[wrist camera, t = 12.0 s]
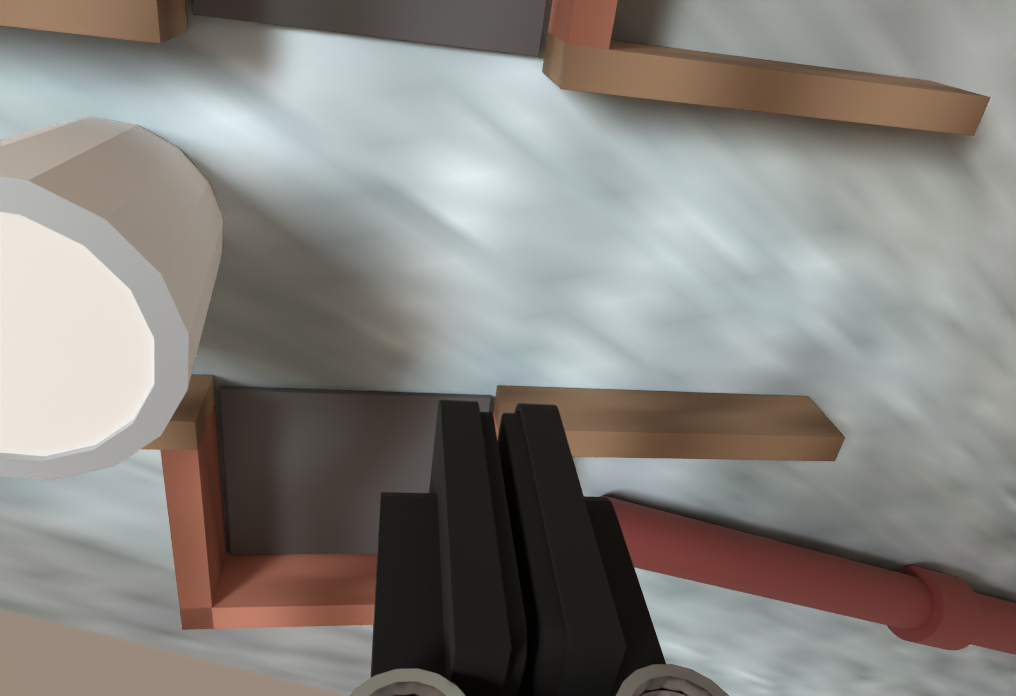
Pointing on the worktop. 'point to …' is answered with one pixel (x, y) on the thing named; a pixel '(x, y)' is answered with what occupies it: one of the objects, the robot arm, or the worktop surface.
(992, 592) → the worktop surface
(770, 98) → the box
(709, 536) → the red collared rod
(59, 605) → the worktop surface
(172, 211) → the white cylinder
